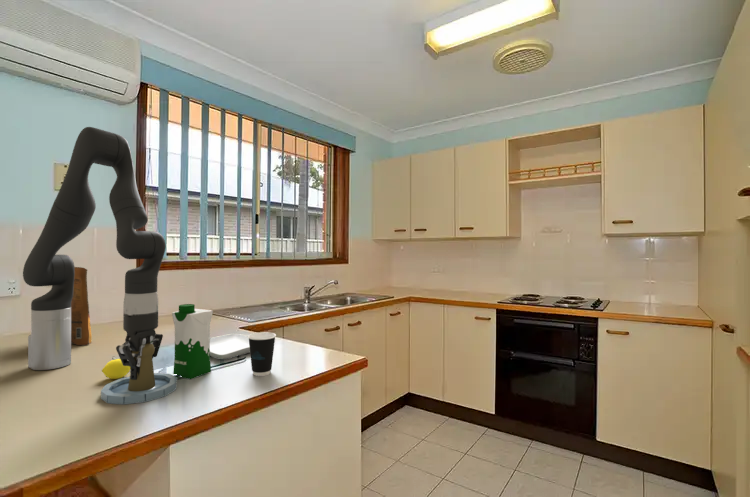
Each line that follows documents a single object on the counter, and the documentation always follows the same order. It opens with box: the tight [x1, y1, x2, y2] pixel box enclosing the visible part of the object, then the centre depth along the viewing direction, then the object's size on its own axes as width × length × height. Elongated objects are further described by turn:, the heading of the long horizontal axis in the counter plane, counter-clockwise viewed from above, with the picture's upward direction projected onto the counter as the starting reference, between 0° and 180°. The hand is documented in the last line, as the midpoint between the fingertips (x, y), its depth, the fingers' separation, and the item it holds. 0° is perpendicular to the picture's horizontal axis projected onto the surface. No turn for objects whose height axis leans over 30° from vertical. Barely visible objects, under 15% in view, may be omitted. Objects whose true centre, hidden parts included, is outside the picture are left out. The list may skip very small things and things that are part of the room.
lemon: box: [101, 358, 130, 380], centre depth 106 cm, size 7×5×5 cm
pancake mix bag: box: [71, 266, 93, 346], centre depth 143 cm, size 7×19×28 cm, turn 56°
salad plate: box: [210, 333, 250, 360], centre depth 135 cm, size 21×21×3 cm
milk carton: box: [171, 303, 214, 380], centre depth 111 cm, size 9×9×20 cm
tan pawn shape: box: [128, 344, 155, 391], centre depth 98 cm, size 6×6×11 cm
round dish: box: [100, 372, 178, 405], centre depth 98 cm, size 16×16×2 cm
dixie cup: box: [247, 331, 277, 377], centre depth 112 cm, size 8×8×11 cm
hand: (140, 378), depth 98 cm, fingers closed on tan pawn shape, 2 cm apart
